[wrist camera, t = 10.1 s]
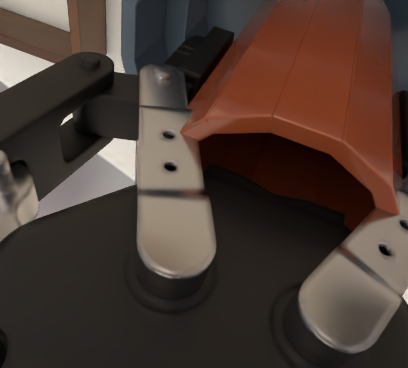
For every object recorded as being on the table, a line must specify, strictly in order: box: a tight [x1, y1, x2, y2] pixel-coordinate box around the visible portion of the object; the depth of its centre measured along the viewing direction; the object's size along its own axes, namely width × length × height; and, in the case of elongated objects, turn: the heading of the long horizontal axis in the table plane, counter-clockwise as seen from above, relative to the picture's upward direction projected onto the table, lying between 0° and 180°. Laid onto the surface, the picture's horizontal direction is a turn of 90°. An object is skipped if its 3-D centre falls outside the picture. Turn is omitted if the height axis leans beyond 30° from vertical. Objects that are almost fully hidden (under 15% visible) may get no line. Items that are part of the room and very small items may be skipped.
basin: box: [121, 0, 408, 92], centre depth 15 cm, size 14×14×6 cm
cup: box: [180, 0, 403, 231], centre depth 12 cm, size 6×6×10 cm
